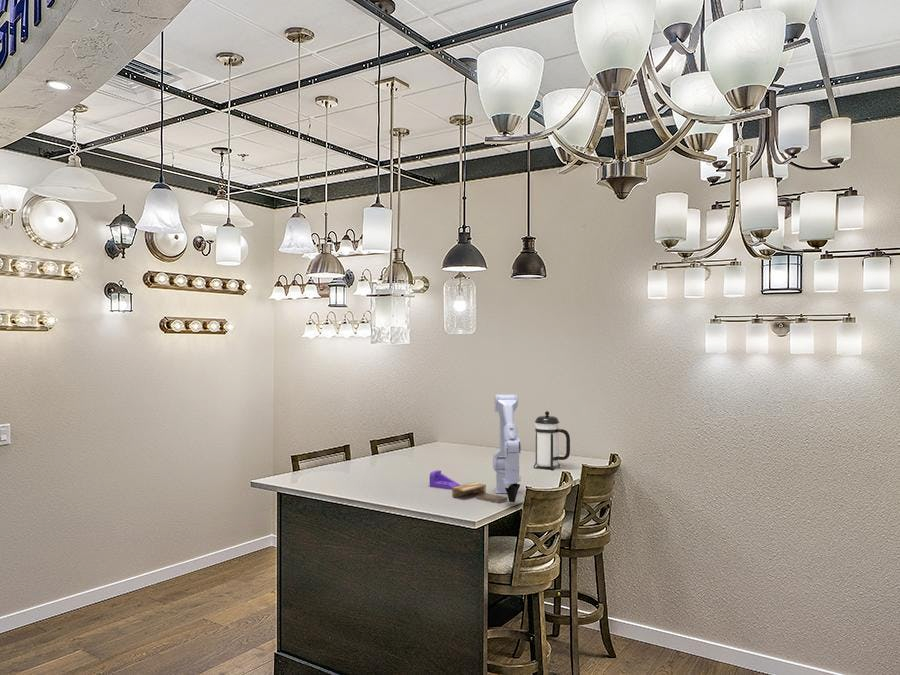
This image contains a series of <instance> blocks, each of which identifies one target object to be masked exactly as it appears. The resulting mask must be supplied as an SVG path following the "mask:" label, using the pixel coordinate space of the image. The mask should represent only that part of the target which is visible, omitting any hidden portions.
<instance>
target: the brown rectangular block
mask: <svg viewBox="0 0 900 675" xmlns="http://www.w3.org/2000/svg"><path fill="white" fill-rule="evenodd" d="M486 490H487V485H486V484H484V483H481V482H475V481H474V482H470V483H464V484H460V486H455V487H452V490H451V493H452V495H451V497H452V498H458V497H462V496H465V495H469V494H470V495H471V494H477V495H479V494H483V493H487V491H486Z"/></svg>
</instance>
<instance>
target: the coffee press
mask: <svg viewBox="0 0 900 675" xmlns="http://www.w3.org/2000/svg"><path fill="white" fill-rule="evenodd" d="M544 414H545V415H540V416H537V417H536V419H535V421H534V423H533V426H535V428H534V431H535V463H534V465H533V468H534V469H538V468H539V467H543V468H544V467H545V468H549V469H550V471H554V470H555V467H557V468H560V467H561V464H560V463H559V461H566V459H567V460H568V458H569V457H570V454H571V438H570V433H569V432H568V431H567V430H566V429H562V428H561V429H560V428H559V424H560V421H559V419H558V417H556V416H554V415H550V412H549V411H545V412H544ZM559 433H562V434H564V435H565V438H566V439H565V442H566V443H565V444H566V446H565V452H566V453H565V455H563V456H559V436H560V434H559Z"/></svg>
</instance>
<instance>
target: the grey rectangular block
mask: <svg viewBox="0 0 900 675" xmlns="http://www.w3.org/2000/svg"><path fill="white" fill-rule="evenodd" d="M475 496H476V497H475V499H476V500H480V501H485V502H490V503H495V504H502V503H505V502H508V496H502V495H498V494H493V493H487V492H486V493H483V494H477V495H475Z"/></svg>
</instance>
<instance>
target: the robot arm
mask: <svg viewBox="0 0 900 675" xmlns="http://www.w3.org/2000/svg"><path fill="white" fill-rule="evenodd" d="M518 406H519V397H518V395H517V394H497V393H496V394H494V412H495V413H498V416H499V449H497V450H496V451H495V452H494V453H493V456H492V457H493V458H492V469H493V471H494V472H495V473H496V474H495V476H496V477H495V481H496V482H495V483H496V484H495V488H494V490H495V491H494V493H495V494H507V500H508V502H509V503H515V502H516V499H517V494H518V491H519V489H520V487H521V484H520V482H521V479H522V478H521V476H520V454H521V451H522V444H521V440H520V437H519V434H518V426H516V424H515V422H514V421H515V420H514V412H515V411H517V408H518Z"/></svg>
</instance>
